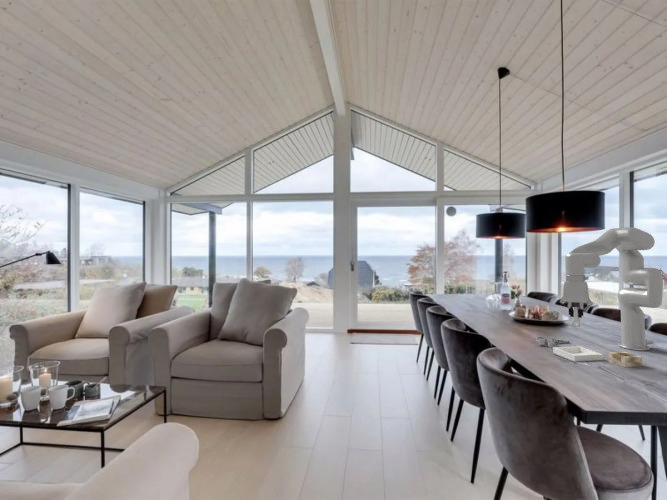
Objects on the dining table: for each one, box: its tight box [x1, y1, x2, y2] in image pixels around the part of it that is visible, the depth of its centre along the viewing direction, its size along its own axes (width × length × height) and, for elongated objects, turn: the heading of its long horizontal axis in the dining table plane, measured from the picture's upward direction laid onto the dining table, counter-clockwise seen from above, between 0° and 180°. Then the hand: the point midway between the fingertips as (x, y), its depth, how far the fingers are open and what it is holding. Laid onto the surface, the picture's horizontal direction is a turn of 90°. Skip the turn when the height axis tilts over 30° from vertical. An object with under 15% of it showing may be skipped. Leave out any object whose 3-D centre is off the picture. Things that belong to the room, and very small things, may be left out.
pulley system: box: [535, 336, 570, 351], centre depth 189 cm, size 27×5×15 cm
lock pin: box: [571, 306, 581, 328], centre depth 165 cm, size 3×3×9 cm
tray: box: [552, 345, 604, 364], centre depth 165 cm, size 14×14×4 cm
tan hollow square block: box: [608, 351, 643, 368], centre depth 153 cm, size 8×8×5 cm
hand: (576, 316), depth 165 cm, fingers closed on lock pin, 3 cm apart
